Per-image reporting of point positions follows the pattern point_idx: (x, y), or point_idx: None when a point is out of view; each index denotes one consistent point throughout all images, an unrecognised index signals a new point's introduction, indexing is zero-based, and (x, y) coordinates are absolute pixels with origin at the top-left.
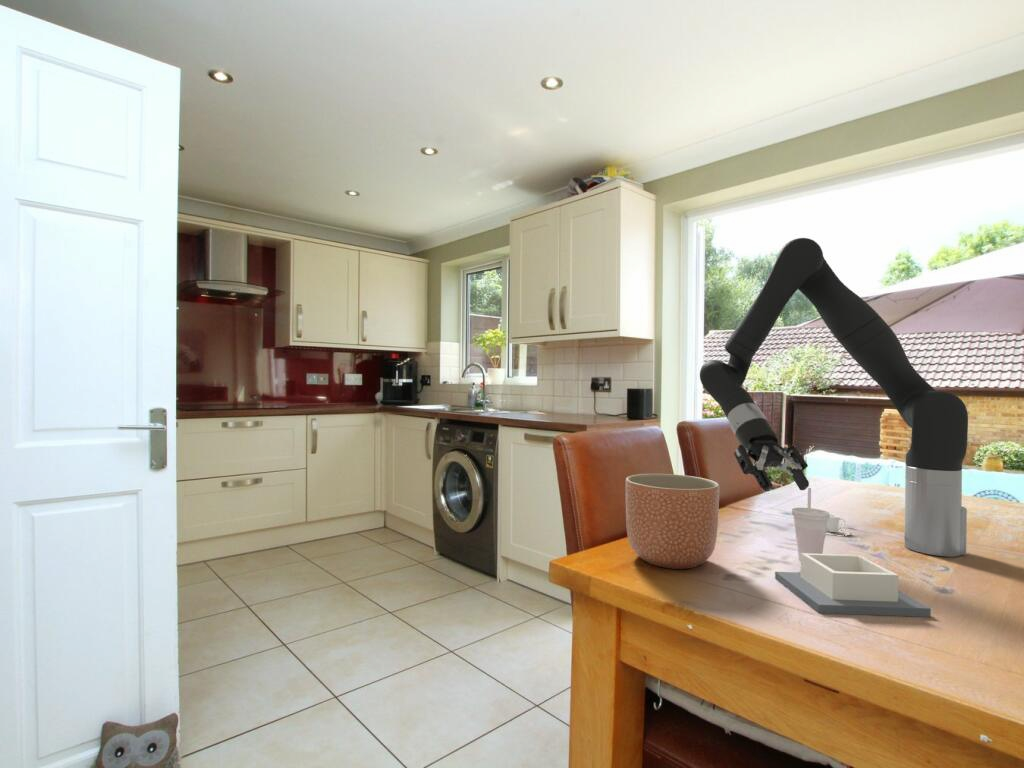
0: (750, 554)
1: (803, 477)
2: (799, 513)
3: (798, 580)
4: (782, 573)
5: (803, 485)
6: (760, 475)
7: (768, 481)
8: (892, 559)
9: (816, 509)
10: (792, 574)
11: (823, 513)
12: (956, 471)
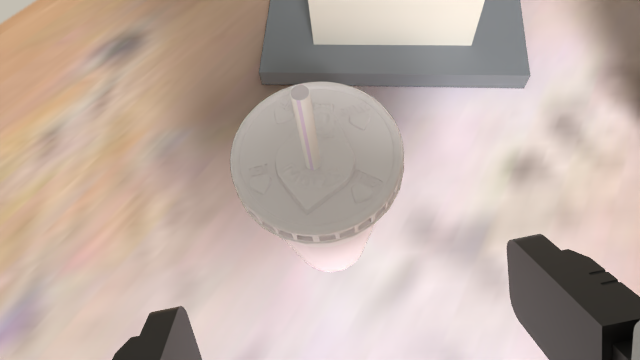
0: None
1: (147, 350)
2: (394, 121)
3: (490, 22)
4: (513, 64)
5: (187, 336)
6: (633, 303)
7: (549, 247)
8: (8, 278)
9: (251, 197)
10: (486, 59)
11: (280, 108)
12: None
